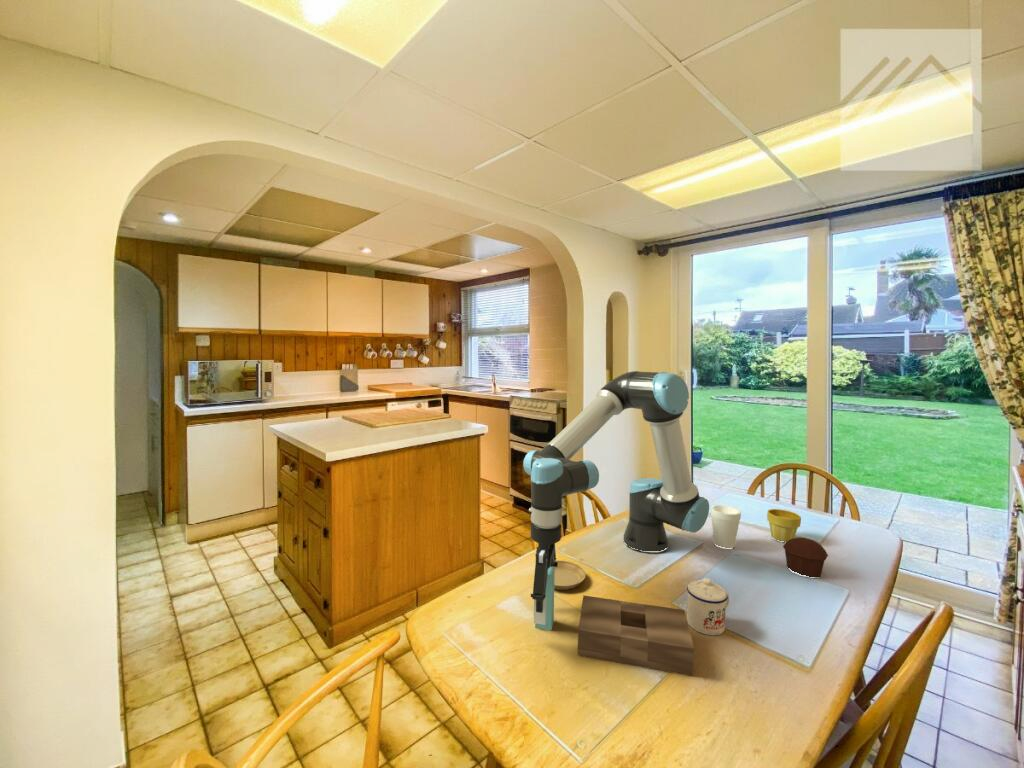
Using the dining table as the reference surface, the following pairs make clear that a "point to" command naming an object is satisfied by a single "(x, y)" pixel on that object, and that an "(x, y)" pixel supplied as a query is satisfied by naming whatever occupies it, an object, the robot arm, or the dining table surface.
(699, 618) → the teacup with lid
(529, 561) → the dining table surface
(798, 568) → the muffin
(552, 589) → the peg
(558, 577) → the plant saucer
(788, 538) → the plant pot
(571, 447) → the robot arm
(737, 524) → the foam cup
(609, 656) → the hole board
